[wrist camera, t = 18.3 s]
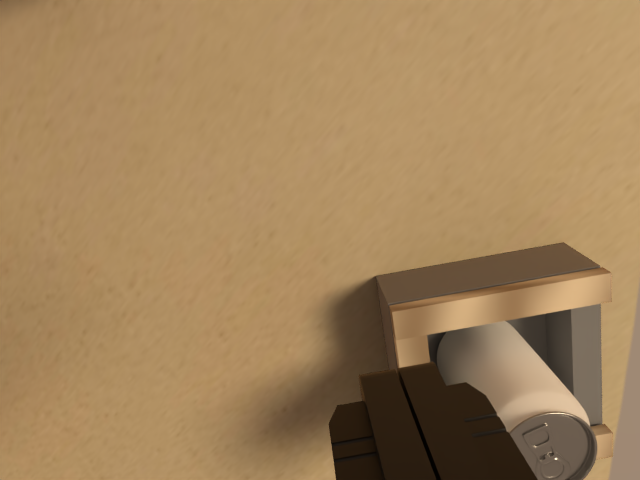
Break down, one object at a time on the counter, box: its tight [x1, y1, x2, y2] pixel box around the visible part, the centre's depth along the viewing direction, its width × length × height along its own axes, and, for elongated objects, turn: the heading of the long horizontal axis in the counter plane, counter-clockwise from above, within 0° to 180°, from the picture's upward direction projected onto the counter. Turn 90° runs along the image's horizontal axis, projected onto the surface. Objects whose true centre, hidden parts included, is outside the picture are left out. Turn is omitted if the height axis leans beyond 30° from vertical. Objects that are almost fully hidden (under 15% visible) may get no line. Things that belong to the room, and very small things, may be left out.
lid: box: [389, 267, 613, 460], centre depth 33 cm, size 14×14×12 cm
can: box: [437, 321, 597, 480], centre depth 37 cm, size 6×6×12 cm
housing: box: [376, 243, 602, 427], centre depth 42 cm, size 14×14×5 cm
